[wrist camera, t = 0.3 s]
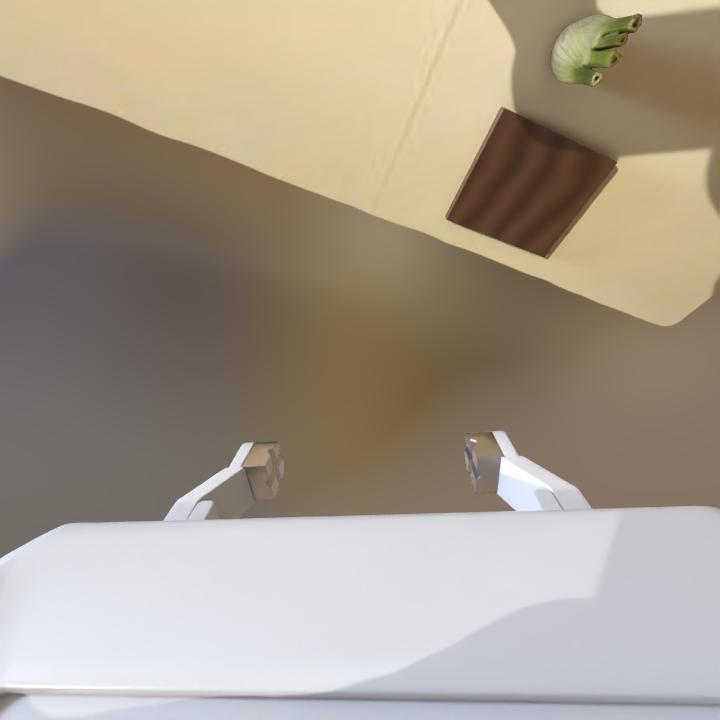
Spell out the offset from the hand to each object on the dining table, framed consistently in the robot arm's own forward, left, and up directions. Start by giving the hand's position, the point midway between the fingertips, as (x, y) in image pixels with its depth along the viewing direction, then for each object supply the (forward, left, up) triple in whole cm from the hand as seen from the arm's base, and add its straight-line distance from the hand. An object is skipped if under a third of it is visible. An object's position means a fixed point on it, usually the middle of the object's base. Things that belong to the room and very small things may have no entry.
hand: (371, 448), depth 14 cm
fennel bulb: (-25, +13, -51) cm, 59 cm away
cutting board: (-12, +23, -51) cm, 57 cm away
